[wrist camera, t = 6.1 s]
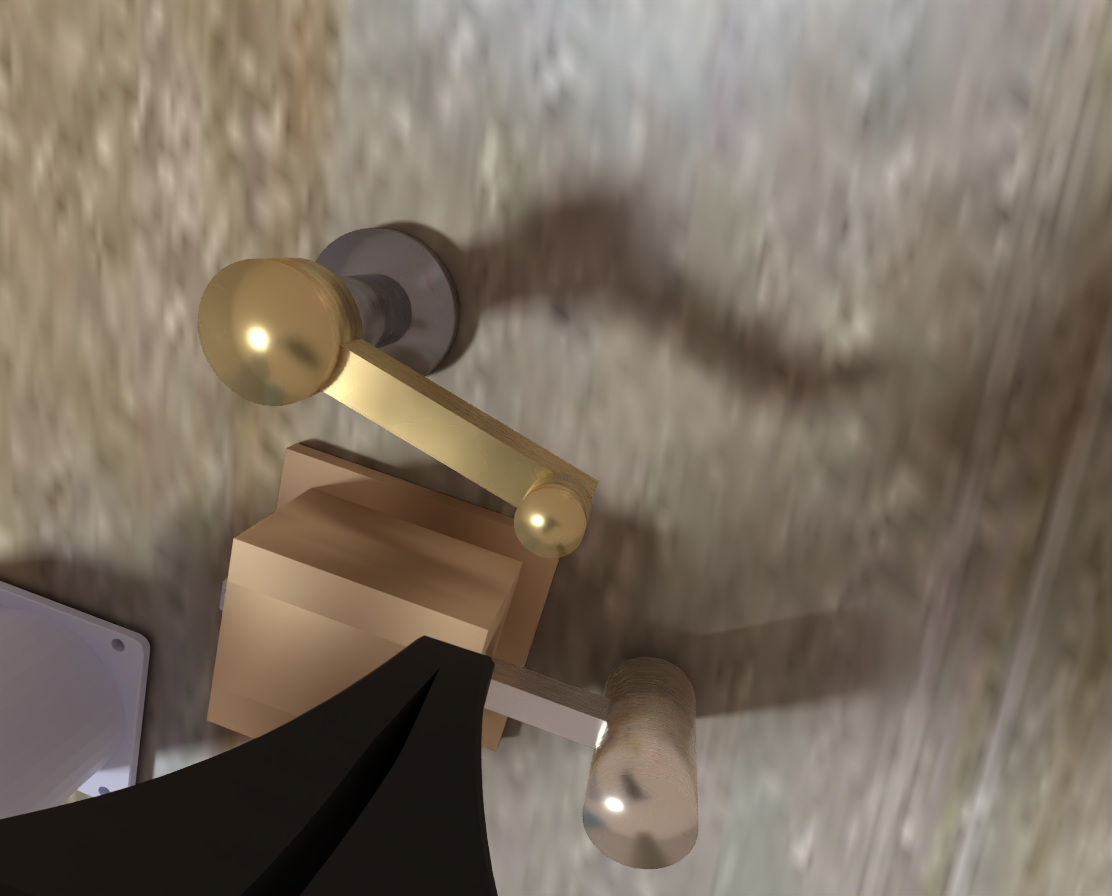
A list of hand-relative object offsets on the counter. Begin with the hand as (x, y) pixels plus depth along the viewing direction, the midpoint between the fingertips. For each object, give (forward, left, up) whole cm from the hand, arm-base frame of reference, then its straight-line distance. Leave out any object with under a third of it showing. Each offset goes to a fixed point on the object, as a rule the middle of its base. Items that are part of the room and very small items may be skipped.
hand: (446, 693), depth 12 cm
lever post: (-6, +4, -9) cm, 12 cm away
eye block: (-4, -5, -9) cm, 11 cm away
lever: (-3, +3, -5) cm, 7 cm away
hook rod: (-1, -5, -9) cm, 10 cm away
